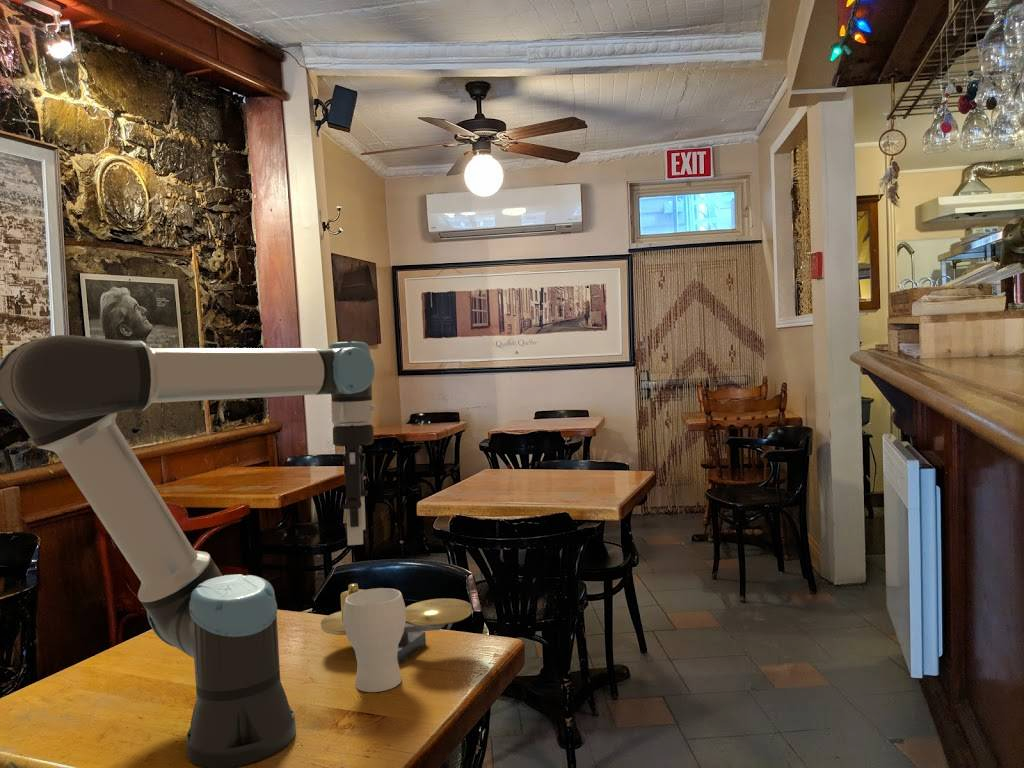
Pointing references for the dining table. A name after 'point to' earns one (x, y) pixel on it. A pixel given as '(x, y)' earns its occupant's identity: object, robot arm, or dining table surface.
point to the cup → (375, 636)
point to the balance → (409, 620)
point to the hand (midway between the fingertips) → (357, 537)
